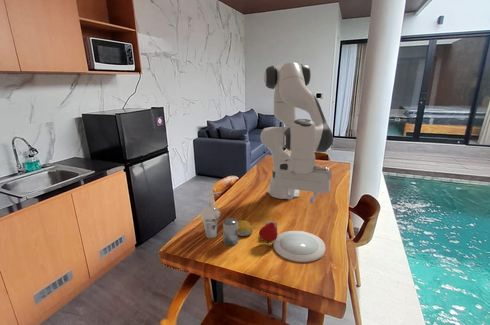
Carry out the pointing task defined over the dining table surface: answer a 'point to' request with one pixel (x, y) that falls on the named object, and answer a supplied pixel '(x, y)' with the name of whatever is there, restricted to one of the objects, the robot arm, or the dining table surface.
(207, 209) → the cup with straw
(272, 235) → the strawberry
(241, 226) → the bread roll
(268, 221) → the walnut block
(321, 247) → the plate
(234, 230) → the drinking glass
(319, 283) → the dining table surface
